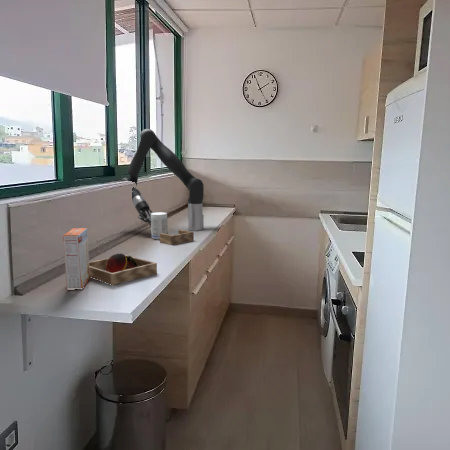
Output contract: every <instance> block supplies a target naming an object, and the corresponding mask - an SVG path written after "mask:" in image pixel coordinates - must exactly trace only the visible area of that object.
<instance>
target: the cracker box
mask: <svg viewBox="0 0 450 450" xmlns="http://www.w3.org/2000/svg"><path fill="white" fill-rule="evenodd" d="M88 236H89V235H88V228H86V227H73V228H71V229H70V230H69V231H68V232H66V233H65V234H63V235H62V240H63V241H62V242H63V243H62V244H63V255H64V268H65V281H66V282H65V284H66V289H67V288H83V287H84V286H85V287H86V285H87V284H88V282H89V281H90V280H89V279H91V278H90V268H89V262H90V257H89V255H90V254H89V239H88ZM88 280H89V281H88ZM86 283H87V284H86ZM85 284H86V285H85ZM85 287H84V288H85ZM84 288H83V289H84Z"/></svg>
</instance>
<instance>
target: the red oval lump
mask: <svg viewBox="0 0 450 450" xmlns="http://www.w3.org/2000/svg"><path fill="white" fill-rule="evenodd" d="M125 255H126V254H124V253H115V254H112V255H111V256H110V257H108V258H109V259H108V261H107V263H106V270H105V271H108V272H111V273H115V272H119V271H123V270H127V269H131V268H135V266H137V264H136V262H135V260H134V259H133V257H134V256H132V255H127V256H125Z"/></svg>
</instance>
